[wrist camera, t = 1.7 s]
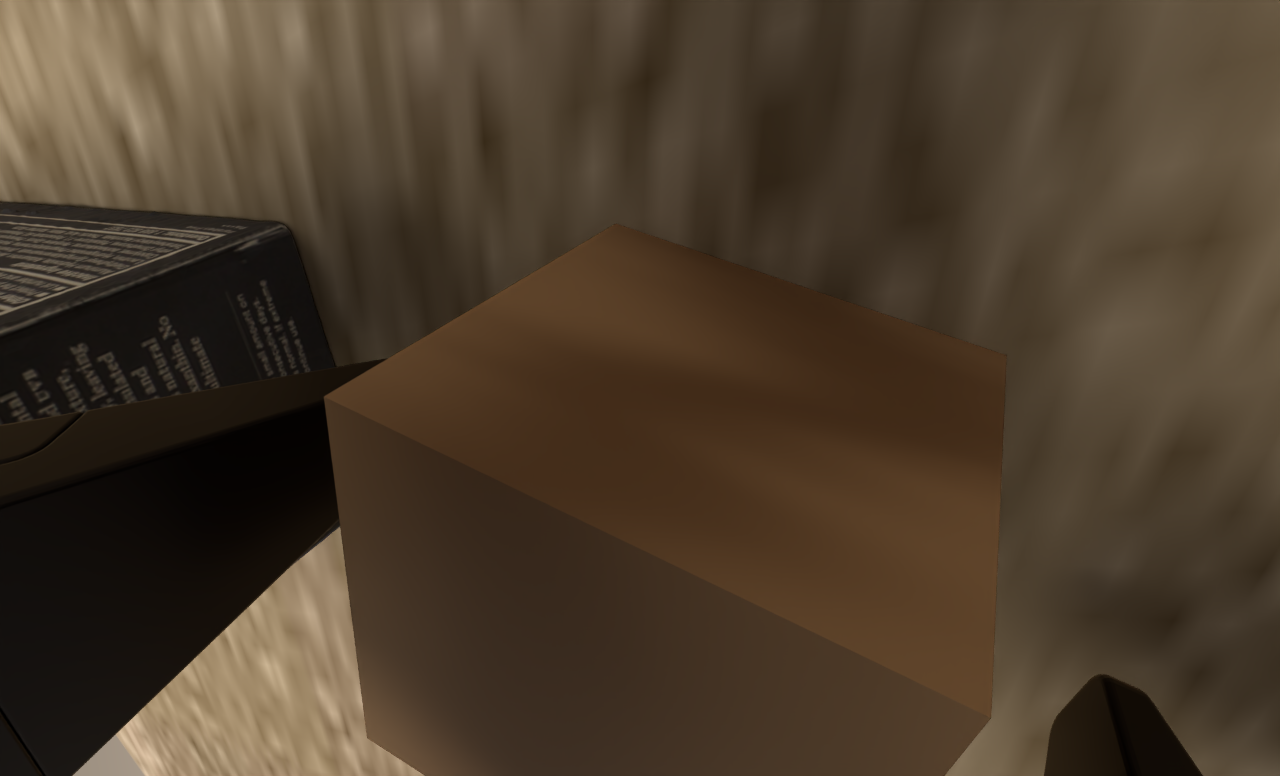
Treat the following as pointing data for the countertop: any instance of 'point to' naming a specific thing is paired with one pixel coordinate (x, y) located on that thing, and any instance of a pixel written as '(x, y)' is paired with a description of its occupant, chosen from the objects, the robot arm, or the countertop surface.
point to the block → (672, 528)
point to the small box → (146, 308)
